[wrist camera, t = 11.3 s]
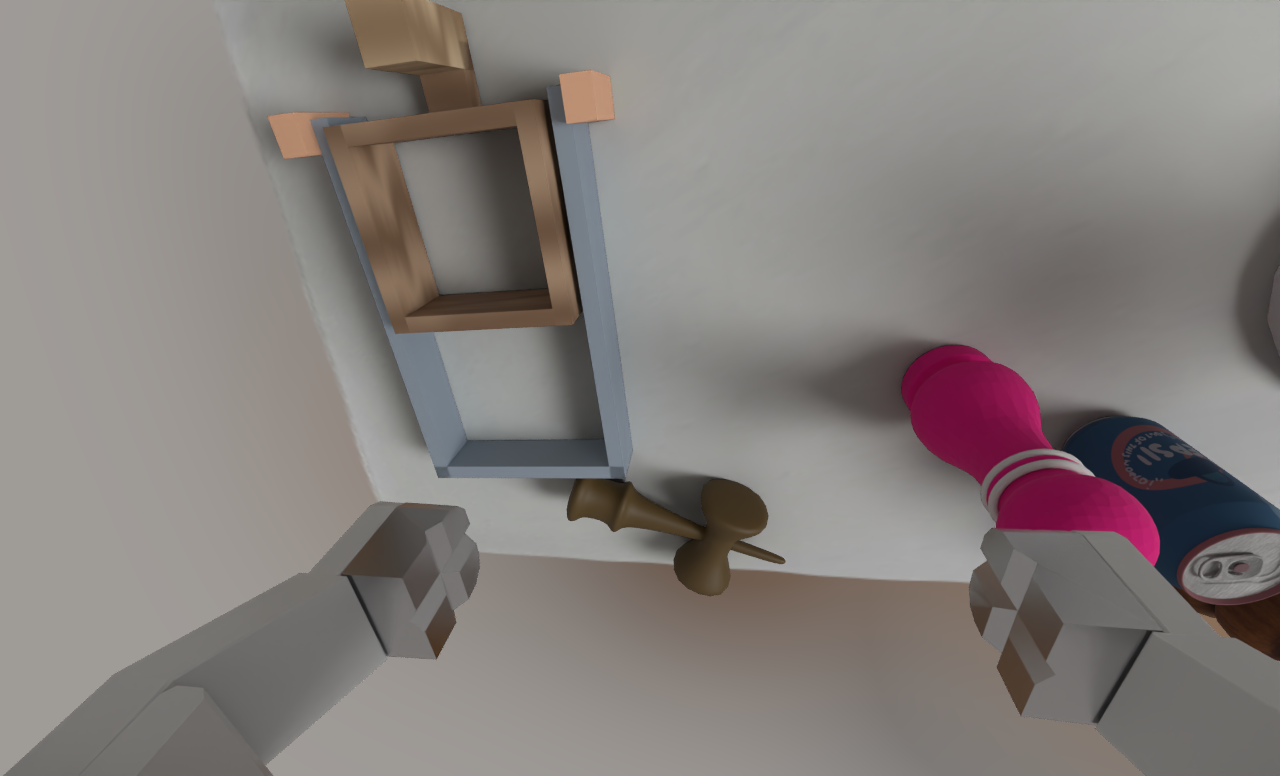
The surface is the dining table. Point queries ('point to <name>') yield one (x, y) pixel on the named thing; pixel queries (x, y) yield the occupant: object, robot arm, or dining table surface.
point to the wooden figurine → (1246, 621)
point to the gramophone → (1275, 310)
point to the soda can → (1188, 509)
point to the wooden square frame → (367, 159)
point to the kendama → (683, 525)
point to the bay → (610, 456)
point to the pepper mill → (1013, 450)
